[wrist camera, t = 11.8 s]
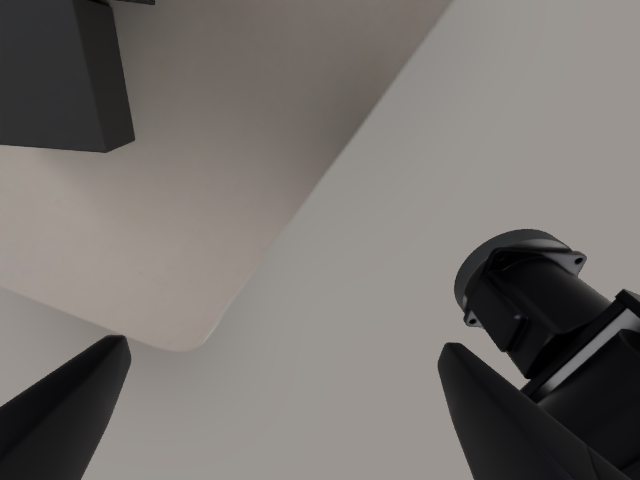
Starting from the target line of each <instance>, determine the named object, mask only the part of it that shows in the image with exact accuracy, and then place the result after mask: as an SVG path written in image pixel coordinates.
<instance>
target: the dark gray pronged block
mask: <svg viewBox="0 0 640 480" xmlns="http://www.w3.org/2000/svg"><path fill="white" fill-rule="evenodd" d="M117 1H125V2H133V3H141V4H149V5H155V0H117Z"/></svg>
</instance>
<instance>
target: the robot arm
mask: <svg viewBox="0 0 640 480" xmlns="http://www.w3.org/2000/svg"><path fill="white" fill-rule="evenodd" d="M499 254H500V256H498V255H499ZM497 256H498V257H497ZM586 259H587V258H586V256H585V255H584V254H583V253H581V252H579V251H564V250H546V249H528V248H511V247H496V248H494V249H493V250H492V251H491V252H490V254H489V257H488V259H487V262H486V264H485V267H484V269H483V272H482V274H481V276H480V279H479V281H478V284H477V286H476V289H475V291H474V293H473V296H472V298H471V301H470V303H469V306H468V308H467V311H466V313H465V316H464V322H465V323H466V325H467V326H469V327H484V329H485V330H486V332H487V333H488V334H489V336H490V337H491V339H492V340H493V341H494V343H495V344H496V345H497V347H498V348H499V350H500V351H501V352H506V353H507V354H508V355H509V357H510V358H511V360H512V361H513V362H514V364H515V365H516V366H517V367H518V369H519V370H520V372H521V373H522V374H523V376H524V377H525V378H526V379H531V380H530V381H529V382H528V383H527V384H526V385H525V386H524V387H523V388H521V390H518V389H517V388H516V387H515V386H513V385H512V384H511V383H510V382H508V381H507V380H506V379H505V378H503V377H502V376H501V375H500V374H498V373H497V372H496V371H495V370H493V369H492V368H491V367H490V366H488V365H487V364H486V363H485V362H483V361H482V360H481V359H480V358H479V357H477V356H476V355H475V354H474V353H472V352H471V351H470V350H468V349H467V348H466V347H465V346H464V345H462V344H460V343H446V344H445V345H444V347H443V350H442V352H441V355H440V357H439V360H438V371H439V375H440V378H441V382H442V386H443V389H444V393H445V397H446V401H447V404H448V408H449V412H450V415H451V419H452V422H453V425H454V428H455V430H456V433H457V436H458V438H459V441H460V444H461V446H462V449H463V452H464V454H465V457H466V459H467V462H468V465H469V467H470V470H471V473H472V475H473V478H474V480H640V295H638V294H636V293H633V292H631V291H628V290H625V289H623V290H622V291H620V292H619V293H618V294H617V295H616V296H615V298H616V299H615V300H614V301H613V302H610V301H609V300H607V299H606V298H605V297H603V296H602V295H600V294H599V293H598V292H596V291H595V290H594V289H593V288H591V287H590V286H589V285H587V284H586V283H585V282H583V281H582V280H581V279H579V278H578V277H577V275H578V274H579V272H580V270H581V269H582V267H583V265H584V263H585V262H586ZM130 364H131V354H130V350H129V346H128V343H127V339H126V337H125V336H123V335H107V336H105V337H104V338H102V339H101V340H99V341H98V342H96V343H95V344H93V345H92V346H90V347H89V348H87V349H86V350H85V351H83V352H82V353H80V354H78V355H77V356H75V357H74V358H72V359H71V360H69V361H68V362H66V363H65V364H63V365H62V366H60V367H59V368H58V369H56V370H55V371H53V372H52V373H50V374H49V375H47V376H46V377H45V378H43V379H41V380H40V381H38V382H37V383H35V384H34V385H32V386H31V387H29V388H28V389H26V390H25V391H23V392H22V393H20V394H19V395H18V396H16V397H14V398H13V399H12V400H10V401H9V402H7V403H6V404H4V405H3V406H1V407H0V480H81V478H82V476H83V474H84V472H85V470H86V468H87V466H88V464H89V462H90V460H91V458H92V456H93V454H94V452H95V450H96V448H97V446H98V444H99V442H100V439H101V438H102V435H103V434H104V431H105V429H106V427H107V425H108V423H109V420H110V418H111V415H112V413H113V410H114V407H115V405H116V402H117V399H118V397H119V394H120V391H121V389H122V386H123V383H124V381H125V378H126V375H127V372H128V370H129V367H130Z"/></svg>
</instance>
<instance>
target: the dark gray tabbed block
mask: <svg viewBox="0 0 640 480" xmlns="http://www.w3.org/2000/svg"><path fill="white" fill-rule="evenodd" d="M133 141H135V136H134V130H133V125H132V119H131V113H130V108H129V102H128V96H127V91H126V85H125V79H124V74H123V68H122V62H121V56H120V51H119V45H118V39H117V34H116V28H115V22H114V17H113V11H112V8H111V7H109V6H106V5H103V4H101V3H98V2H95V1H92V0H0V145H11V146H24V147H37V148H50V149H63V150H75V151H88V152H101V153H107V152H109V151H112V150H114V149H116V148H119V147H121V146H123V145H126V144H128V143H130V142H133Z"/></svg>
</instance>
